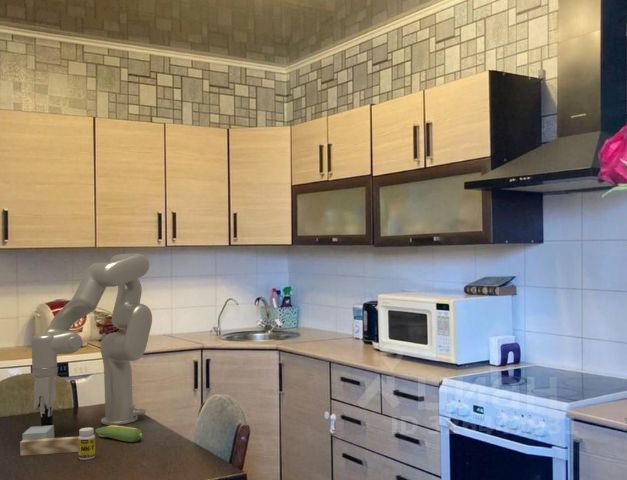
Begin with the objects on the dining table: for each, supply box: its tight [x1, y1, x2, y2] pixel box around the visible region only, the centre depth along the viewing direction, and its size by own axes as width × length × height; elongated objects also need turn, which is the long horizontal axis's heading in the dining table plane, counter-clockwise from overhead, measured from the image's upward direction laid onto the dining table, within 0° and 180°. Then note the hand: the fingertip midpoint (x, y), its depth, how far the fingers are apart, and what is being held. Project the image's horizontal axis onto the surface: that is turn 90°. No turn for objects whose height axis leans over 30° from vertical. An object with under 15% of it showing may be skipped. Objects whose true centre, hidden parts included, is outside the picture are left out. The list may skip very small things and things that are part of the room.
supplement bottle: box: [77, 427, 96, 461], centre depth 201 cm, size 5×5×8 cm
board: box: [19, 436, 79, 457], centre depth 208 cm, size 20×2×4 cm, turn 96°
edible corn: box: [94, 425, 143, 443], centre depth 220 cm, size 5×20×5 cm, turn 58°
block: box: [21, 424, 55, 440], centre depth 213 cm, size 7×9×6 cm
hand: (47, 428), depth 221 cm, fingers closed
